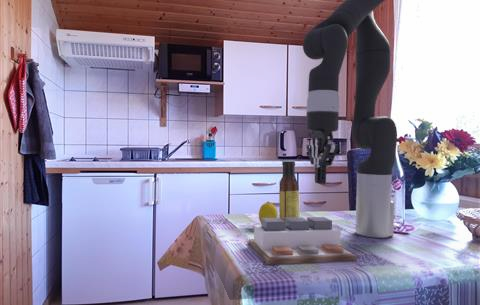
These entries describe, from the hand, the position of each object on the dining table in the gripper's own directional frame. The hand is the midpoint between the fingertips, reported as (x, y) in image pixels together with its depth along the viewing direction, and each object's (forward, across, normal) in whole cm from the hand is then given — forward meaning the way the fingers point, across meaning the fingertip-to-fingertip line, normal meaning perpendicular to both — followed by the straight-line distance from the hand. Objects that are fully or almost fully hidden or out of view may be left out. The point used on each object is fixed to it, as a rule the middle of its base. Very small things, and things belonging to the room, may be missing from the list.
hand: (320, 183), depth 84 cm
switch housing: (+16, 0, +6) cm, 17 cm away
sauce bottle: (+16, +28, -3) cm, 32 cm away
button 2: (+13, 0, +6) cm, 14 cm away
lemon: (+16, +21, +6) cm, 27 cm away
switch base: (+16, -2, +6) cm, 17 cm away
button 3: (+13, 0, +11) cm, 17 cm away
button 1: (+13, 0, 0) cm, 13 cm away
